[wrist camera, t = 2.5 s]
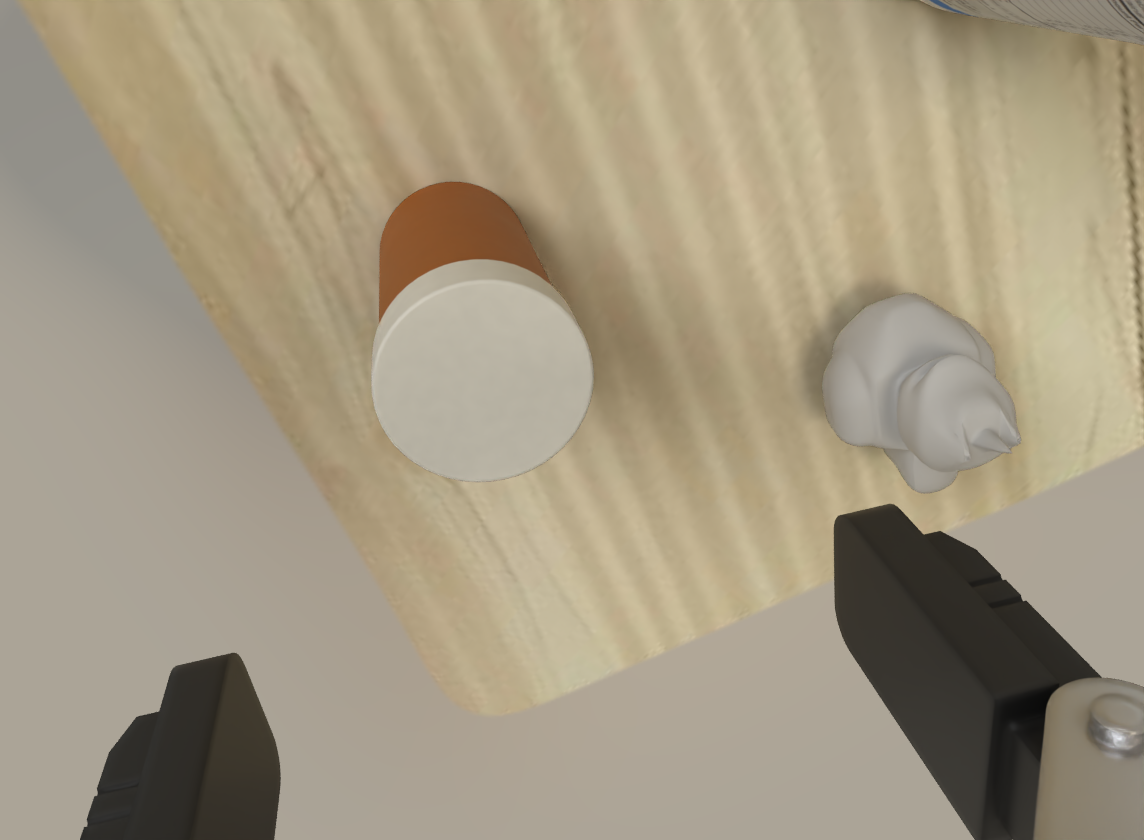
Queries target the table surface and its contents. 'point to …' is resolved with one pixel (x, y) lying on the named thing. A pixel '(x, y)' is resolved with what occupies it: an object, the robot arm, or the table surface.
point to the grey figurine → (918, 391)
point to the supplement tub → (1060, 15)
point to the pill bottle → (473, 340)
